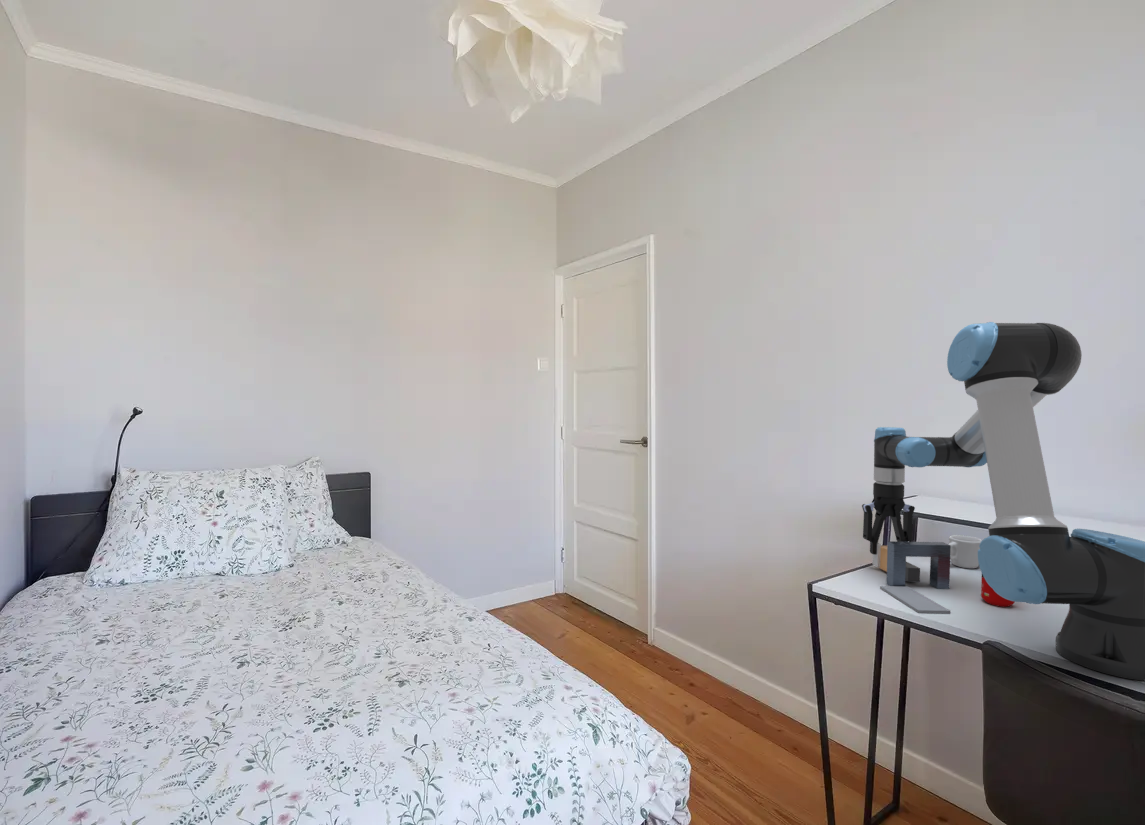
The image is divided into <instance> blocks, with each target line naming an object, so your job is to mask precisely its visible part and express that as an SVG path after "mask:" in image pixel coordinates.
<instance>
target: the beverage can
mask: <svg viewBox="0 0 1145 825" xmlns="http://www.w3.org/2000/svg"><path fill="white" fill-rule="evenodd" d="M980 586H981V587H980V597H981V599H982V600H984V601H985V603H987V604H989V605H992V606H997V607H1002V608H1003V607H1005V608H1007V607H1010V606H1012V605H1014V604H1015V602H1014V601H1010V600H1007V599H1005V598H1003V597H1001V596H1000V595H998V594H997V593H996V592H995V591H994V590H993V588H991V587H990V586H989V584H988V583H987V582H986V580H985V578H984V577H983V575H982V574H981V582H980Z"/></svg>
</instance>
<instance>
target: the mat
mask: <svg viewBox="0 0 1145 825" xmlns="http://www.w3.org/2000/svg"><path fill="white" fill-rule="evenodd" d="M879 589H881V590H882V591H884V592H885V593H886V594H888V595H889V596H890V597H892V598H895V599H896V600H897V601H899V602H901V603H902V604H904V605H905V606H906V607H908V608H910V609H911V608H912V609H911V610H913V611H914V612H916V613H918V614H949V615H950V614H951V610H950V609H948V608H946V607H944V605H941V604H939V603H937V602H936V601H934V600H932V599H931V598H929V597H927V596H925V595H924V594H922V593H921V592H919V591H917V590H915V589H913V588H912V587H910V586H906V585H905V586H889V585H881V586H879Z"/></svg>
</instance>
